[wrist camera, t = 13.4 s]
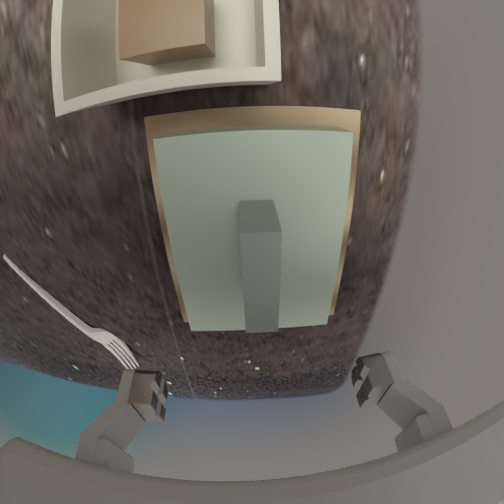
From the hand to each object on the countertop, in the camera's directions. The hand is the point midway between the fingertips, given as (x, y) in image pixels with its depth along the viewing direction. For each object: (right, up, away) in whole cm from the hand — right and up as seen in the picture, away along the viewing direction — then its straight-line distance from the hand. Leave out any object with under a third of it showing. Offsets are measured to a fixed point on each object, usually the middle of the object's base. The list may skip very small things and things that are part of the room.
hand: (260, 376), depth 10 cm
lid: (0, +6, +10) cm, 12 cm away
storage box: (-5, +21, +1) cm, 21 cm away
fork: (-20, -1, +15) cm, 25 cm away
